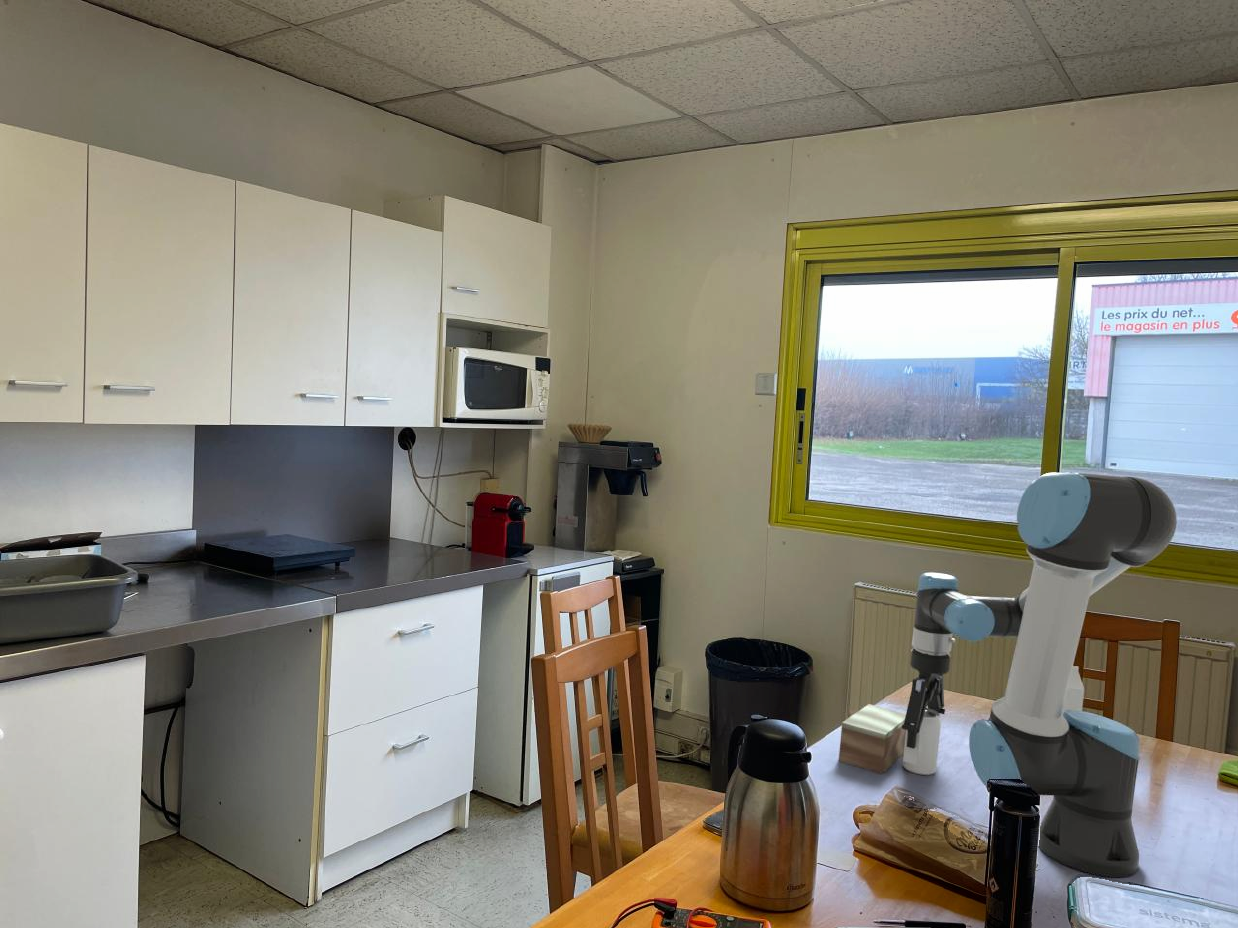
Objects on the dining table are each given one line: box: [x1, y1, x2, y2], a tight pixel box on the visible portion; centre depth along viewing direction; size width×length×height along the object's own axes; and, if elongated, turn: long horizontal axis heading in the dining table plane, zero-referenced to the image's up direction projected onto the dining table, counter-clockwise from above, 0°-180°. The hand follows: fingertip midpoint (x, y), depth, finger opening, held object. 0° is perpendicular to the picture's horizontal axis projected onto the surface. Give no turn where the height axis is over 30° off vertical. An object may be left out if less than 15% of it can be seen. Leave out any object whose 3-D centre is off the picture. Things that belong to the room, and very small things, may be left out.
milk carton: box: [1061, 665, 1085, 715], centre depth 200 cm, size 7×7×19 cm
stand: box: [838, 703, 906, 774], centre depth 188 cm, size 16×9×8 cm, turn 145°
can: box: [902, 707, 942, 776], centre depth 182 cm, size 6×6×12 cm
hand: (920, 752), depth 182 cm, fingers open, 13 cm apart
